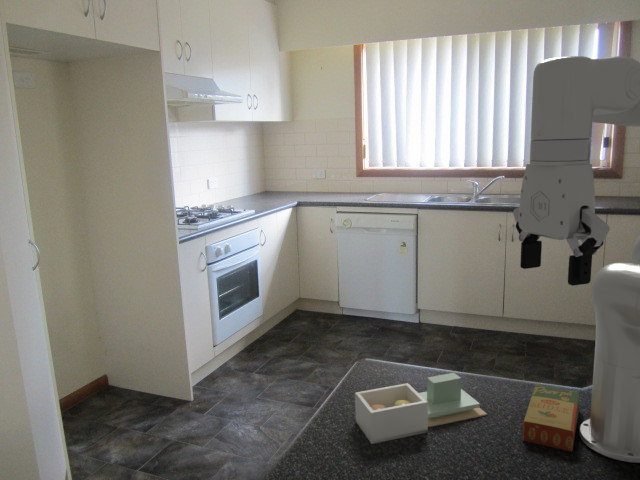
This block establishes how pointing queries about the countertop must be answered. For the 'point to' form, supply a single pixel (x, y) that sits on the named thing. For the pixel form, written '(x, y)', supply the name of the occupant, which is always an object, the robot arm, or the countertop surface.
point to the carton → (552, 417)
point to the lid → (447, 396)
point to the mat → (456, 417)
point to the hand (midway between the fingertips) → (553, 275)
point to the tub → (391, 413)
